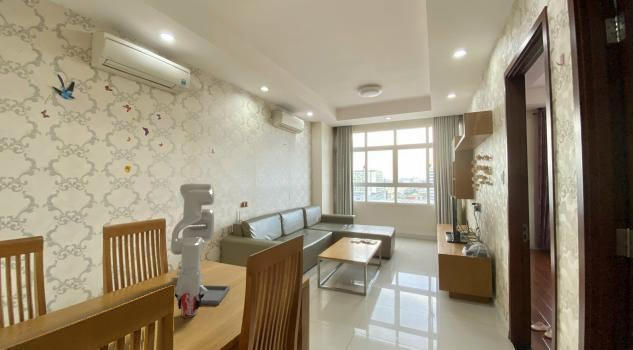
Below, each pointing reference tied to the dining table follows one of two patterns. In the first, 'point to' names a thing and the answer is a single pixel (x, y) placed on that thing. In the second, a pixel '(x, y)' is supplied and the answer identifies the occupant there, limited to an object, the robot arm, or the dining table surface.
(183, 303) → the soda can
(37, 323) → the dining table surface
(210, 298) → the tray
